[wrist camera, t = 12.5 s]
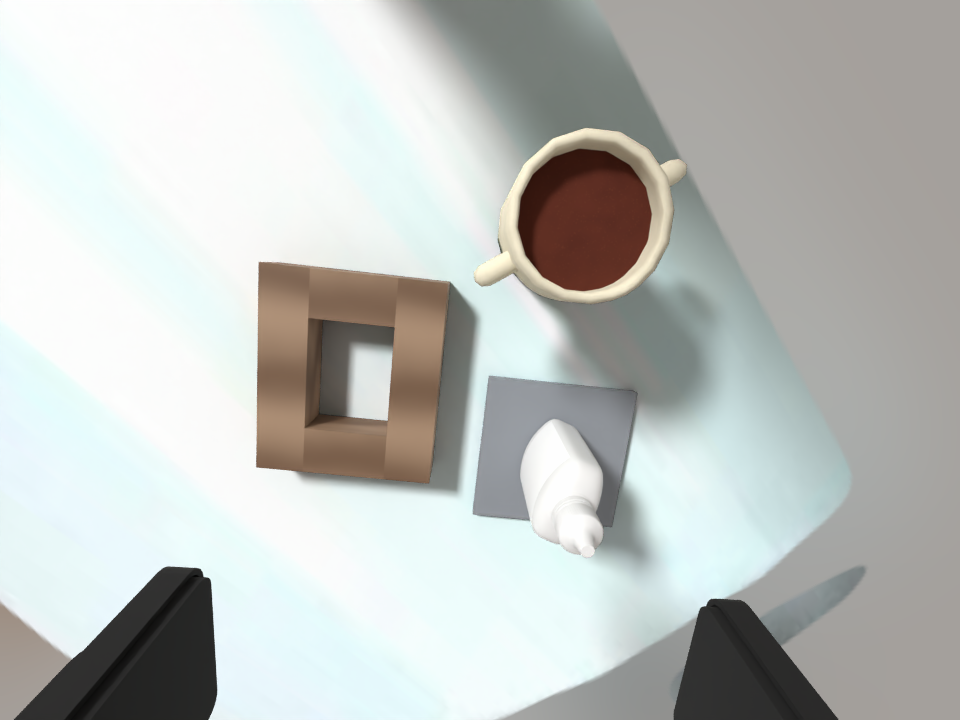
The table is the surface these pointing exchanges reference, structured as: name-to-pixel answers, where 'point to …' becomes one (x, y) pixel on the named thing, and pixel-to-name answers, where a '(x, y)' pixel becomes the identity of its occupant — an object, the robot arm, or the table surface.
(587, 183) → the character mug
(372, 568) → the table surface
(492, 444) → the slate mat
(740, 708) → the robot arm
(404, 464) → the walnut dock
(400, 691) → the table surface
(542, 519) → the eye dropper bottle
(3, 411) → the table surface
